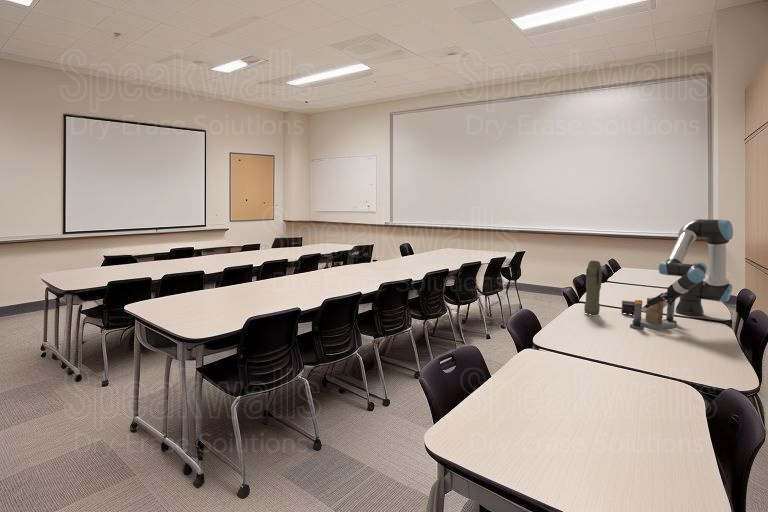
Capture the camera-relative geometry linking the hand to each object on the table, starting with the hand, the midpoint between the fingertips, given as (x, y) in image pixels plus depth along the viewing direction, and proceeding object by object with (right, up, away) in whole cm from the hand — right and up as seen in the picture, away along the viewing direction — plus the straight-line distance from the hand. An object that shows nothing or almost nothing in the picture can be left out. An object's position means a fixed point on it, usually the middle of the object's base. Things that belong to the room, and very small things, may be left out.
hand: (650, 309), depth 260 cm
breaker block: (+1, -7, -1) cm, 8 cm away
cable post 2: (+14, -9, +4) cm, 17 cm away
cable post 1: (-12, -10, -6) cm, 17 cm away
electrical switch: (+1, -7, +23) cm, 24 cm away
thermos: (-24, -7, +24) cm, 35 cm away
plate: (+1, -9, -1) cm, 9 cm away
